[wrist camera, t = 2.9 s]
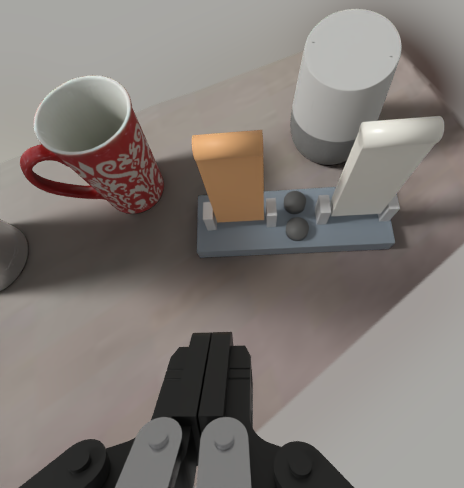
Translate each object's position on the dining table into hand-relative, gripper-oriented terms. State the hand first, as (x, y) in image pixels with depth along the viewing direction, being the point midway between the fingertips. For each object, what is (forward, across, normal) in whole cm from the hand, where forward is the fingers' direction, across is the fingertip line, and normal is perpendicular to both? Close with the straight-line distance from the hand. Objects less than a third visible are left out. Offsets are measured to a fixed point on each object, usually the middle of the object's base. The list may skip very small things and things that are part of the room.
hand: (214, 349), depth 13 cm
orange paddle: (+23, 0, +3) cm, 23 cm away
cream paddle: (+23, -12, +3) cm, 26 cm away
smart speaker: (+34, -11, -2) cm, 36 cm away
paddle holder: (+26, -5, +5) cm, 27 cm away
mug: (+30, +15, +2) cm, 33 cm away
